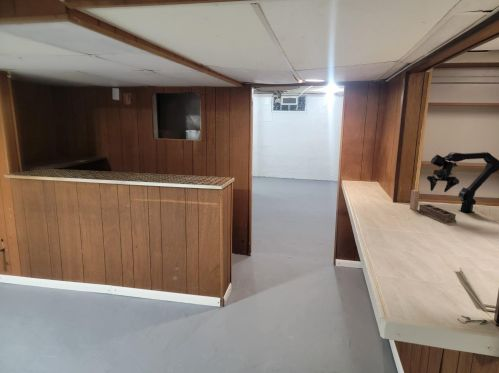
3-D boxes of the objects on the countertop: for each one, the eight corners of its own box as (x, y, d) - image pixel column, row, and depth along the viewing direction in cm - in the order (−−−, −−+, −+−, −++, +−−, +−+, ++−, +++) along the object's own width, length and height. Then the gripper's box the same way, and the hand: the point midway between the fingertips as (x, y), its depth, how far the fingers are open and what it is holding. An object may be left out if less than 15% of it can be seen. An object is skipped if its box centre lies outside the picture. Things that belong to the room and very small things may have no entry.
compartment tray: (430, 211, 214) (430, 204, 213) (456, 222, 191) (457, 214, 190) (417, 211, 213) (418, 204, 212) (442, 222, 190) (443, 214, 189)
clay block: (413, 208, 222) (415, 189, 220) (417, 209, 218) (419, 191, 215) (409, 208, 222) (411, 190, 219) (413, 210, 218) (415, 191, 215)
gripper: (426, 164, 214) (417, 184, 212) (454, 164, 197) (445, 186, 195) (435, 171, 218) (427, 192, 216) (463, 172, 201) (454, 194, 199)
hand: (437, 191), depth 207 cm, fingers open, 9 cm apart
